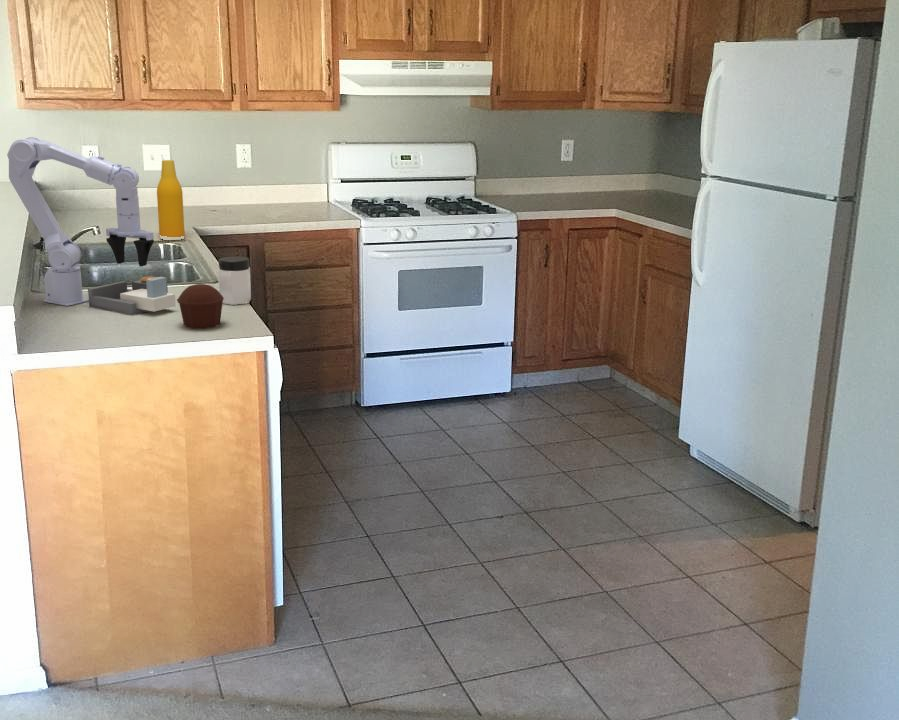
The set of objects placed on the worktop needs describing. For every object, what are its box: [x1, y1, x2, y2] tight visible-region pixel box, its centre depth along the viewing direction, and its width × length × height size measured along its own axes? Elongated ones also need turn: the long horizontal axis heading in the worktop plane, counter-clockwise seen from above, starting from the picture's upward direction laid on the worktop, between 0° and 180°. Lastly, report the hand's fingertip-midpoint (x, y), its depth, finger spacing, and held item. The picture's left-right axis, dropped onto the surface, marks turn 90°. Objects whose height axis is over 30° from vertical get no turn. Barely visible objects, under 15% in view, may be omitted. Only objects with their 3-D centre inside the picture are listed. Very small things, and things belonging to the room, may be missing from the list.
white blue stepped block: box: [120, 276, 177, 312], centre depth 255 cm, size 12×8×8 cm, turn 61°
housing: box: [87, 279, 169, 316], centre depth 263 cm, size 16×19×5 cm
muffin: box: [176, 283, 224, 330], centre depth 243 cm, size 12×11×10 cm
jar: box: [218, 255, 252, 306], centre depth 267 cm, size 9×8×12 cm
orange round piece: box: [140, 275, 157, 283], centre depth 269 cm, size 4×4×4 cm
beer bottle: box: [156, 159, 186, 237], centre depth 361 cm, size 9×9×29 cm
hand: (131, 264), depth 263 cm, fingers open, 7 cm apart
